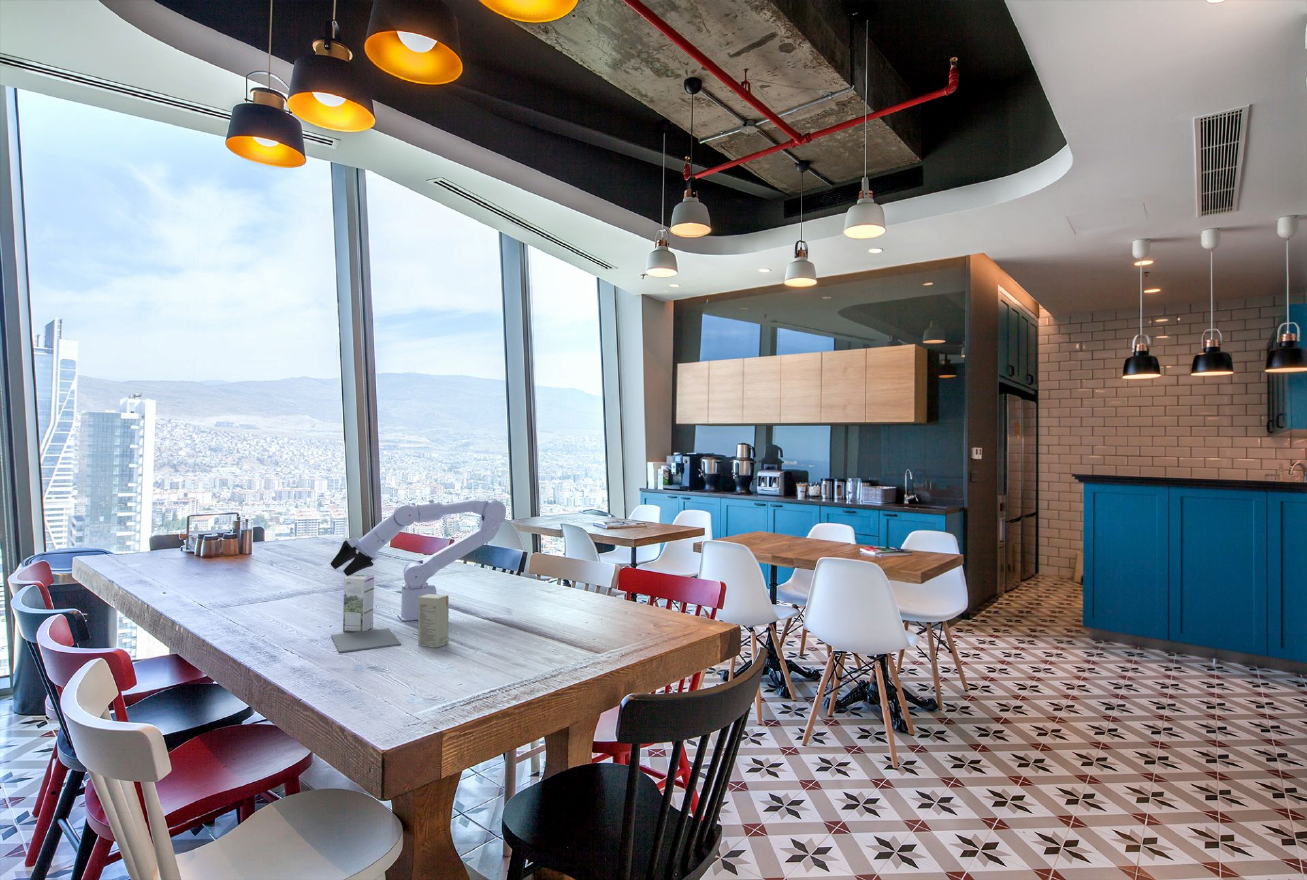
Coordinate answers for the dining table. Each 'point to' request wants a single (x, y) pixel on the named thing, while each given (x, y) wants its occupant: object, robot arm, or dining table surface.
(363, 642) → the grey mat
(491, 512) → the robot arm
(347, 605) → the syrup box
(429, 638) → the skincare box
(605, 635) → the dining table surface
